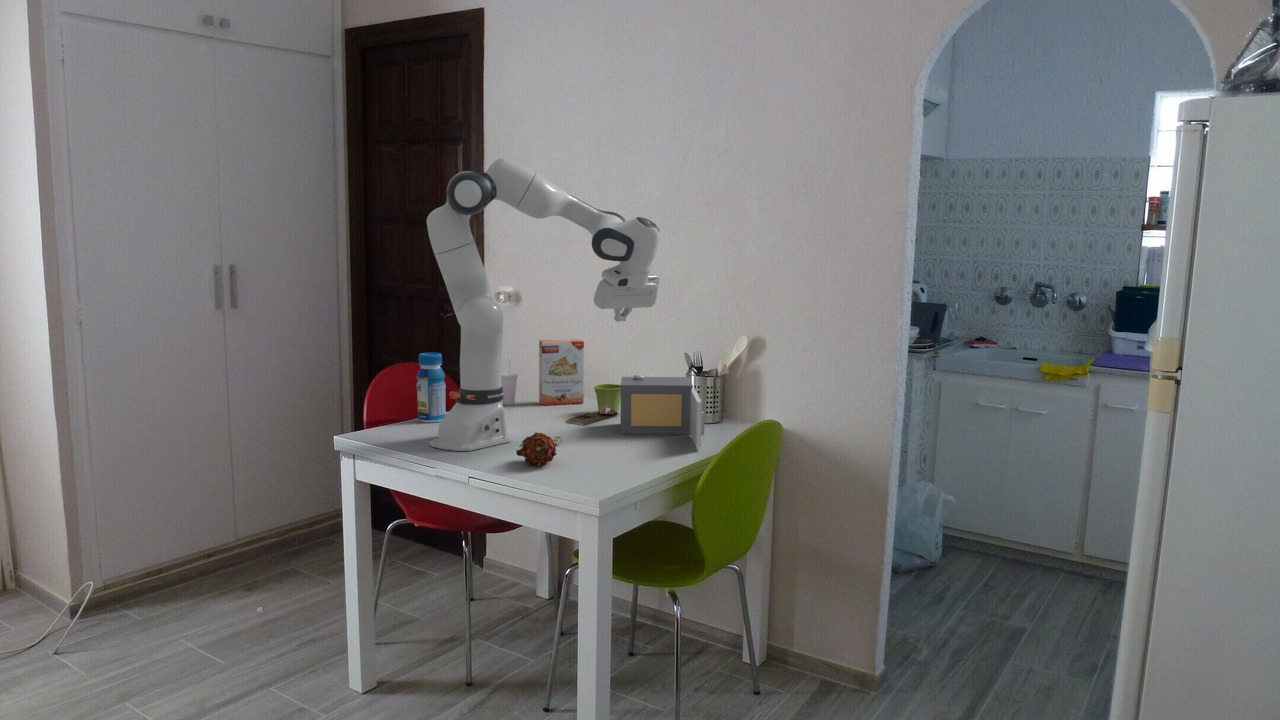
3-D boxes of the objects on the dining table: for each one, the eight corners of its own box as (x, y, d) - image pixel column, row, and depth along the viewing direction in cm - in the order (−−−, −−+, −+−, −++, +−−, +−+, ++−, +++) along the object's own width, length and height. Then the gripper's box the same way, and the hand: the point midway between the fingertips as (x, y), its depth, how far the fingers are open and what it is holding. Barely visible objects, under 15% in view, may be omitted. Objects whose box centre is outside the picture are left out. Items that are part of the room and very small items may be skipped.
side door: (697, 431, 258) (698, 389, 256) (704, 447, 240) (704, 402, 238) (690, 431, 258) (690, 389, 256) (696, 447, 240) (697, 402, 238)
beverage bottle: (443, 423, 271) (441, 356, 268) (414, 423, 271) (412, 355, 268) (449, 417, 280) (447, 351, 277) (421, 417, 280) (419, 351, 277)
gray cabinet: (691, 435, 258) (692, 382, 256) (620, 434, 258) (620, 381, 256) (689, 423, 272) (690, 373, 270) (621, 423, 273) (621, 373, 270)
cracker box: (541, 406, 298) (541, 341, 295) (538, 402, 304) (538, 339, 300) (584, 404, 302) (584, 340, 298) (580, 400, 307) (580, 338, 304)
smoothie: (517, 405, 298) (517, 362, 296) (497, 405, 298) (497, 362, 296) (519, 401, 304) (518, 359, 302) (499, 401, 304) (499, 359, 302)
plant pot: (591, 411, 290) (591, 384, 289) (620, 410, 292) (621, 383, 291) (595, 417, 281) (595, 389, 280) (626, 416, 283) (626, 388, 282)
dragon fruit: (546, 477, 221) (526, 472, 231) (570, 452, 224) (549, 449, 235) (525, 451, 218) (505, 447, 228) (550, 426, 222) (529, 424, 232)
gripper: (653, 271, 264) (640, 314, 269) (597, 271, 250) (584, 316, 256) (667, 280, 260) (653, 324, 265) (611, 281, 246) (597, 327, 252)
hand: (619, 320), depth 260 cm, fingers closed
